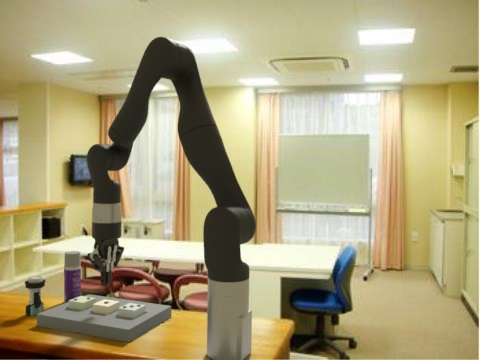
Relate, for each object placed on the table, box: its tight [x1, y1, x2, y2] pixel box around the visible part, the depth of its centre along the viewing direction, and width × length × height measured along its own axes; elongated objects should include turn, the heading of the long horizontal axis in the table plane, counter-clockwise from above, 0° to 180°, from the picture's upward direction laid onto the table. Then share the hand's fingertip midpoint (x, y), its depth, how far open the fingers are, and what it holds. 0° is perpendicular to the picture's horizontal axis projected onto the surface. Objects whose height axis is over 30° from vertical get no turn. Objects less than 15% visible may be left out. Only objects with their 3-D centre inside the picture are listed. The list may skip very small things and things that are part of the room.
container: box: [63, 250, 82, 304], centre depth 141 cm, size 5×5×15 cm
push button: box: [24, 275, 46, 317], centre depth 131 cm, size 7×5×10 cm
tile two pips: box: [68, 295, 96, 311], centre depth 127 cm, size 5×5×3 cm
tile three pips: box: [118, 303, 145, 319], centre depth 121 cm, size 5×5×3 cm
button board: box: [36, 293, 172, 343], centre depth 124 cm, size 28×20×3 cm
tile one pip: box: [93, 299, 120, 315], centre depth 124 cm, size 5×5×3 cm
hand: (106, 284), depth 124 cm, fingers closed
